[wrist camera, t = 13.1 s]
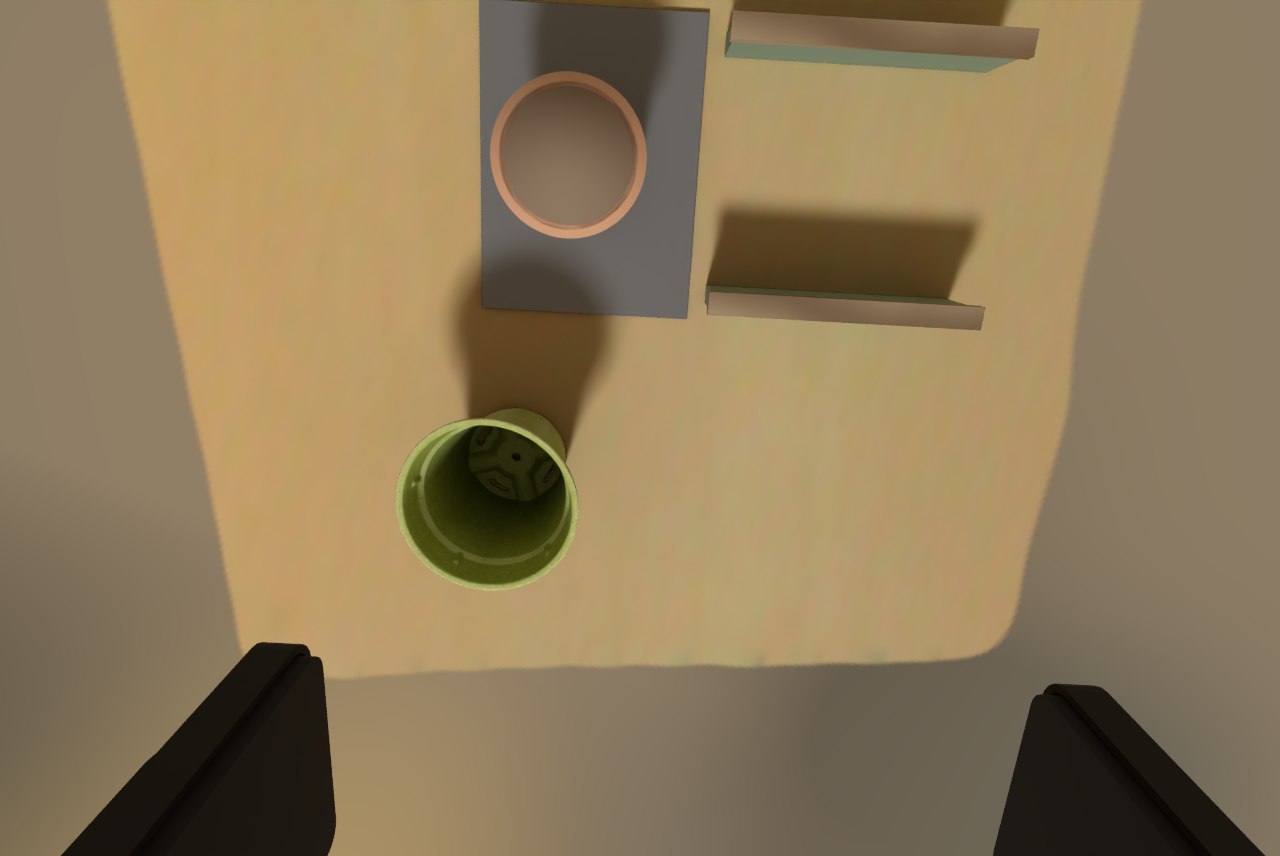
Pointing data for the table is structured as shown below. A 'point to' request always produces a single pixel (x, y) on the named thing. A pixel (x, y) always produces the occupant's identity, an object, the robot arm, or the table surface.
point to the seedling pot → (568, 154)
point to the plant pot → (489, 500)
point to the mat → (664, 210)
